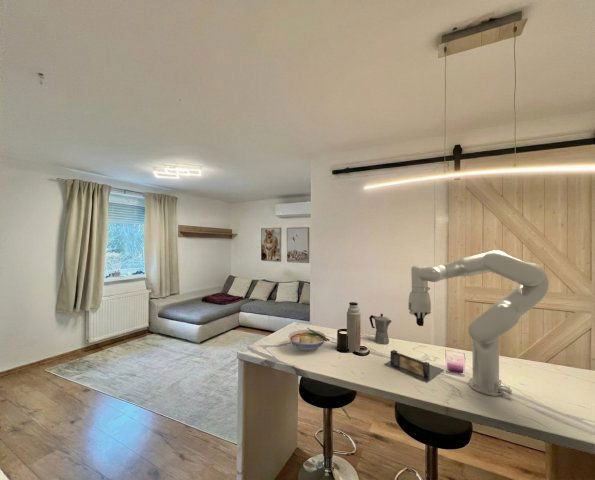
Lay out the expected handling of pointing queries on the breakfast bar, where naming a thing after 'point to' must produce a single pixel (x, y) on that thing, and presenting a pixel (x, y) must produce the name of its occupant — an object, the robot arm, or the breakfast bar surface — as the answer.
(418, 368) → the gate
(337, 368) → the breakfast bar surface
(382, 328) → the coffeepot
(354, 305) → the thermos bottle
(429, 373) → the gate frame
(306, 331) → the ramen bowl
